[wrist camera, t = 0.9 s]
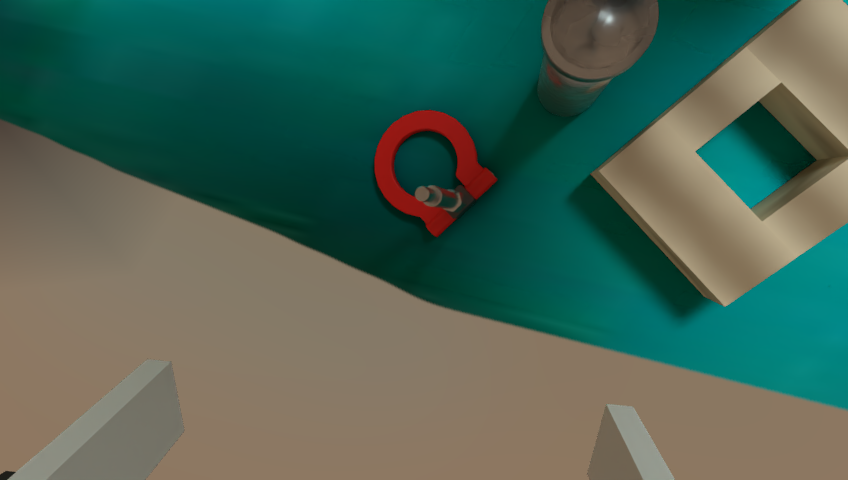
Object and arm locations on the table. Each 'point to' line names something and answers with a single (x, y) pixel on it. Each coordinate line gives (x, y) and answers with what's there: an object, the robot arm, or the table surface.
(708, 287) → the jig
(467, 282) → the table surface
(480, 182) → the tow hook
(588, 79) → the domed cap cylinder
